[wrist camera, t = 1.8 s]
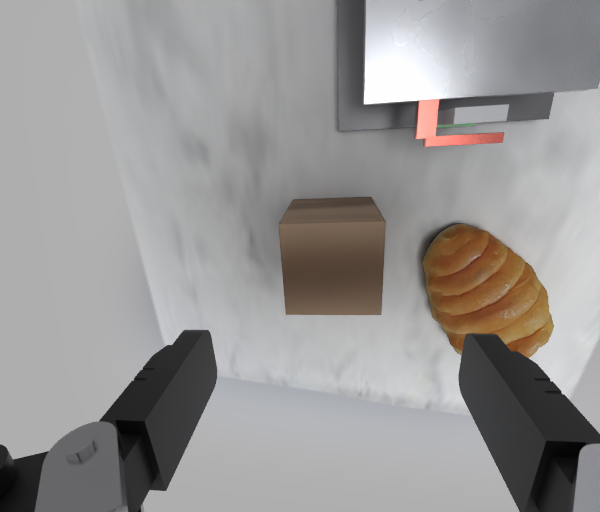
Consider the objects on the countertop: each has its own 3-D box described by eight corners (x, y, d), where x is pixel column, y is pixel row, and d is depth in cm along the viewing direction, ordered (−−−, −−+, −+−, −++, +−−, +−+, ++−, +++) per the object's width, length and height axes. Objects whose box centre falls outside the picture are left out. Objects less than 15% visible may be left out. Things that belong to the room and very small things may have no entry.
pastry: (392, 254, 21) (404, 278, 18) (488, 197, 20) (523, 211, 16) (455, 350, 24) (478, 388, 20) (547, 307, 22) (589, 341, 18)
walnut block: (293, 199, 21) (278, 224, 15) (370, 196, 20) (385, 221, 14) (297, 269, 22) (286, 314, 17) (368, 268, 22) (381, 314, 16)
